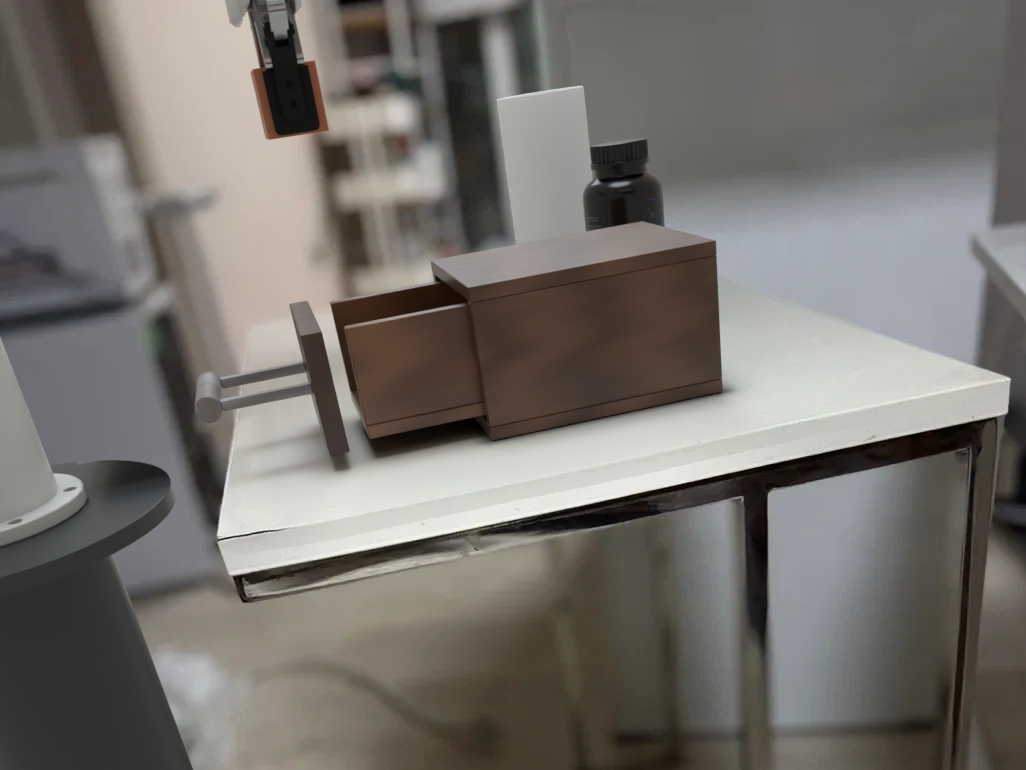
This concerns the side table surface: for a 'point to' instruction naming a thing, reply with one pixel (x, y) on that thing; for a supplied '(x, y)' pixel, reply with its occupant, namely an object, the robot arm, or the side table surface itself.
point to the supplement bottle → (622, 186)
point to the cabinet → (590, 324)
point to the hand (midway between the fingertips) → (295, 129)
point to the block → (265, 108)
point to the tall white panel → (546, 161)
